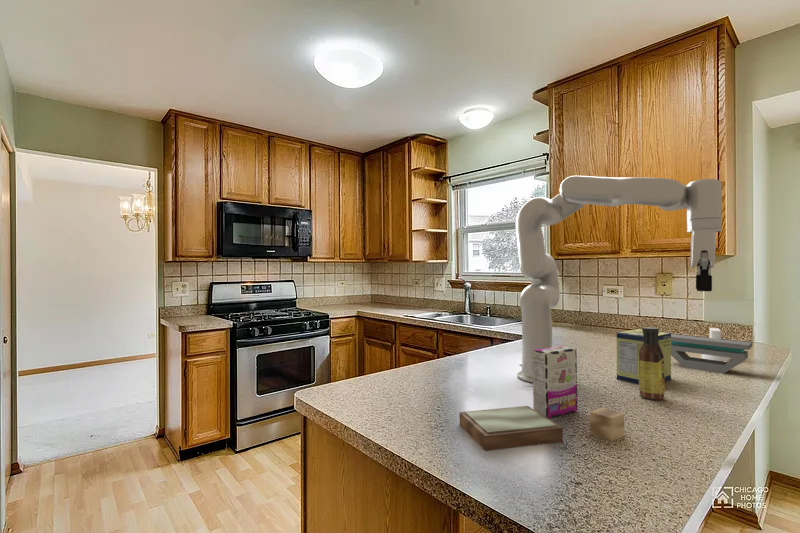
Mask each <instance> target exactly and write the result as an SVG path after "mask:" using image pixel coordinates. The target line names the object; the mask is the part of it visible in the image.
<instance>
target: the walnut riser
mask: <svg viewBox="0 0 800 533" xmlns="http://www.w3.org/2000/svg"><path fill="white" fill-rule="evenodd" d="M459 426H460V427H461V428H462V429H463V430H464V431H465V432H466V433H467V434H468V435H469V436H470V437H471V438H472V439H473V440H474V441H475V442H476V443H477V444H478V445H479V447H481V448H482V449H483V450H484V451H485V452H487V451H495V450H503V449H511V448H518V447H519V448H521V447H529V446H538V445H547V444H555V443H556V444H557V443H563V442H564V428H563V426H561V425H559V424H557V423H556V422H555V421H552V419H550V418H546V417H545V416H543V415H542V414H540V413H538V412H537V411H535V410H534V408H533V407H530V405H529V406H528V405H524V406H512V407H503V408H502V407H500V408H499V407H498V408H492V409H491V408H490V409H489V408H488V409H478V410H467V411H459Z"/></svg>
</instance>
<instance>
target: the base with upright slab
mask: <svg viewBox="0 0 800 533" xmlns="http://www.w3.org/2000/svg"><path fill="white" fill-rule="evenodd" d="M709 338H716V339H722V330H721V329H720V328H718V327H709ZM700 358H703V359H709V360H716V361H730V358H729V357H721V356H713V355H706V354H700Z"/></svg>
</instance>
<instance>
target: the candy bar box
mask: <svg viewBox="0 0 800 533" xmlns="http://www.w3.org/2000/svg"><path fill="white" fill-rule="evenodd" d="M577 355H578V354H577V348H575V347H573V346H572V347H571V346H566V345H559V346H552V347H550V348H543V349H536V350H533V382H532V383H533V384H532V391H533V394H532V395H533V396H532V397H533V399H532V400H533V410H535V411H537V412H538V413H540V414H542V415H543V416H545V417H546V418H548V419H550V418H555V417H559V416H563V415H568V414H570V413H574V412H577V411H578V370H577V369H578V368H577V366H578V363H577V361H578V360H577V358H578V357H577Z"/></svg>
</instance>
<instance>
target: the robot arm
mask: <svg viewBox="0 0 800 533" xmlns="http://www.w3.org/2000/svg"><path fill="white" fill-rule="evenodd" d="M722 188H723V187H722V182H721V181H720V180H719V179H716V178H705V179H704V178H703V179H696V180H693V181H690V182H688V183H687V184H682V183H681V182H680V181H678V180H677V179H672V178H663V177H643V176H642V177H641V176H640V177H638V176H637V177H636V176H635V177H613V176H612V177H608V176H590V175H570V176H568V177H566V178H564V180H562V181H561V183H560V185H559V193H558V194H556V195H555V196H554V197H552V198H551V199H550V198H548V197H544V196H538V197H537V196H536V197H534V198H531V199H529V200H528V201H526V202H525V203H524V204H523V205H522V206H521V207H520V208H519V211H518V213H517V216H516V219H515V220H516V221H515V231H516V240H517V250H518V261H519V268H520V274H522V276H523V277H524V278H526V279H529V280H530V284H528V285H527V286H526V287H525V288H524V289H523V290H522V291H521V294H520V298H519V306H520V312H521V332H522V334H521V335H522V336H521V337H522V338H521V342H522V343H521V345H522V347H521V348H522V349H521V351H522V352H521V354H522V355H521V356H522V358H521V360H522V361H521V362H519V364H518V365H519V367H521V371H518V372H517V374H516V375H517V378H518V379H519V380H521V381H525V382H528V383H533V350H536V349H543V348H550V347H553V320H552V312H551V310H552V309H554V308H555V307H556V306H557V305H558V304H559V302H560V298H561V293H560V292H561V291H560V285H559V277H558V276H559V275H558V268H557V264H556V261H555V259H554V257H553V256H552V255H551V254H549V253H547V252H546V247H545V238H544V234H543V232H542V226H544V225H545V226H553V225H557V224H559V223H560V222H563V221H564V220H566V218H568V217H570V216H571V215H572V214H574V213H575V212H577V211H579V210H580V209H581V208H583V207H584V206H586V205H593V206H601V207H602V206H603V207H620V206H622V205H641V206H642V205H643V206H652V207H653V206H654V207H658V208H659V209H660V210H663V211H667V212H671V211H672V212H673V211H679V210H684V209H686V234H687V233H688V234H689V233H691V236H690V268H691V269H694V268H695V266H696V275H695V289H696V291H697V292H712V291H713V275H712V269H713V268H714V266H715V260H716V244H717V238H716V237H717V232H722V230H723V229H722V228H723V227H722V224H723V223H722V220H723V217H722V214H723V213H722V212H723V211H722V209H723V208H722V207H723V206H722V203H723V202H722V200H723V198H722V195H723V194H722V193H723V189H722Z"/></svg>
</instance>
